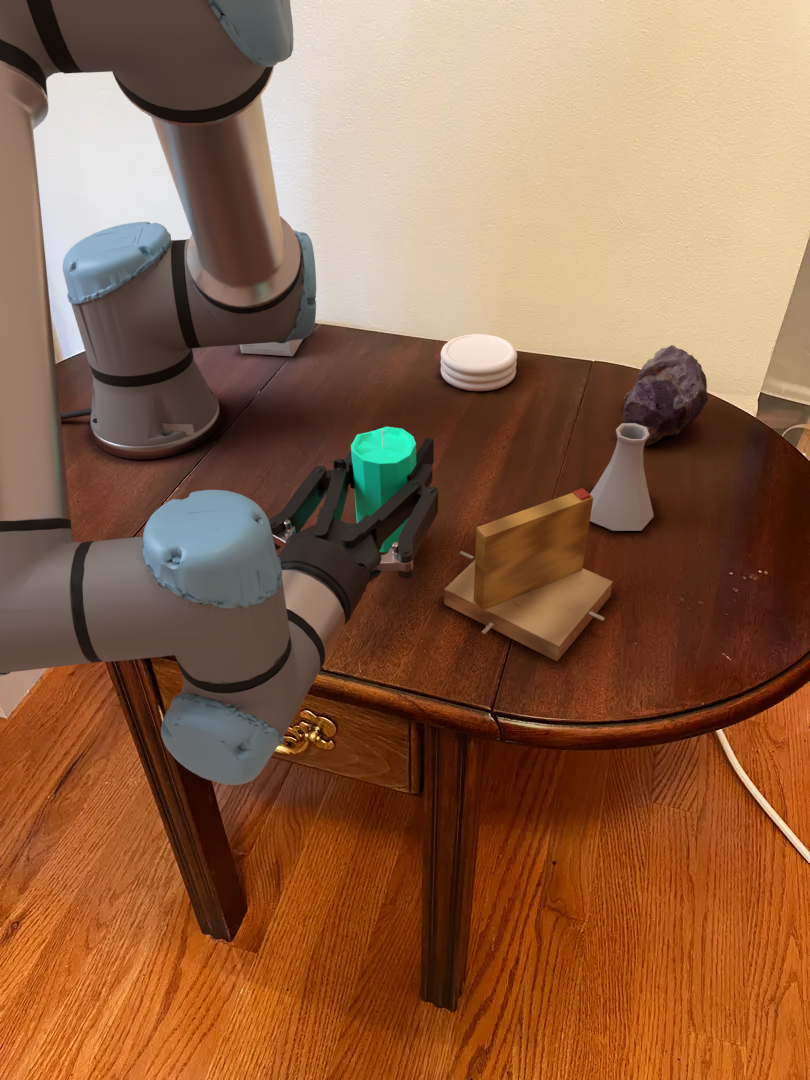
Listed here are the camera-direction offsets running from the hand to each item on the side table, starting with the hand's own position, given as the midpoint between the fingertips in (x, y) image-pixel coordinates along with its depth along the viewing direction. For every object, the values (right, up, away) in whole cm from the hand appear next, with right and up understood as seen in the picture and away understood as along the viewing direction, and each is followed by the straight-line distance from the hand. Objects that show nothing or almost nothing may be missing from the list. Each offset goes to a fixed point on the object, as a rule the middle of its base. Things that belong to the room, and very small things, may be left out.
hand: (403, 445), depth 82 cm
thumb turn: (+11, -13, -5) cm, 18 cm away
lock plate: (+12, -15, -4) cm, 19 cm away
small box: (-18, +19, +37) cm, 45 cm away
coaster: (+10, +13, +29) cm, 33 cm away
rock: (+30, +4, +18) cm, 36 cm away
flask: (+23, -7, +6) cm, 24 cm away
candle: (-2, -9, +1) cm, 9 cm away
